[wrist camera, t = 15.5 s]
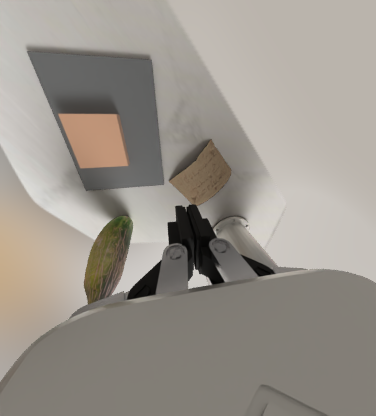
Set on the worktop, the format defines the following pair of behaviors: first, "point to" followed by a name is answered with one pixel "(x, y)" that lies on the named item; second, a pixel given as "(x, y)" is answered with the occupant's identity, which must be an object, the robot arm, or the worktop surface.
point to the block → (96, 139)
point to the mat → (107, 110)
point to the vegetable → (107, 259)
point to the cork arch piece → (203, 176)
